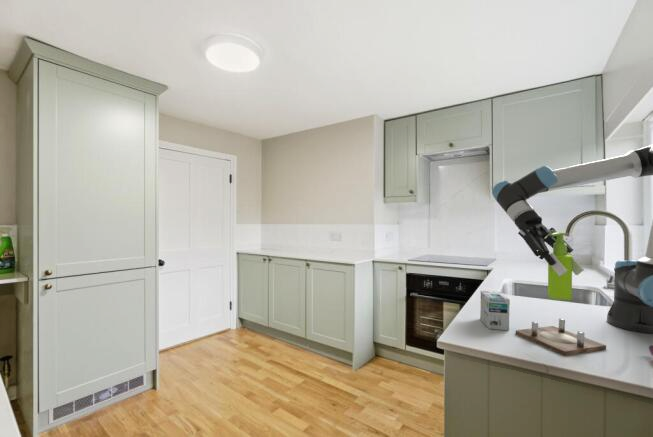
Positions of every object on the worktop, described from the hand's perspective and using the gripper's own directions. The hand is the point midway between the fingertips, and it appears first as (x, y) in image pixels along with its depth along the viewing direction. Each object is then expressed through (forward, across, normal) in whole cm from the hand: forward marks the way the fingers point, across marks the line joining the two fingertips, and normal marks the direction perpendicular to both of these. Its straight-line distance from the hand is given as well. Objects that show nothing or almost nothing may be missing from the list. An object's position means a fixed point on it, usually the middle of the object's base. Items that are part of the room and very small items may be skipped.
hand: (571, 272), depth 93 cm
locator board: (+13, 0, -18) cm, 22 cm away
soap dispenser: (+3, 0, -9) cm, 9 cm away
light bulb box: (+1, +8, -30) cm, 31 cm away
